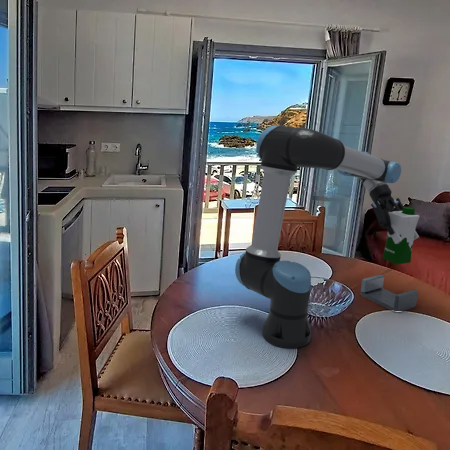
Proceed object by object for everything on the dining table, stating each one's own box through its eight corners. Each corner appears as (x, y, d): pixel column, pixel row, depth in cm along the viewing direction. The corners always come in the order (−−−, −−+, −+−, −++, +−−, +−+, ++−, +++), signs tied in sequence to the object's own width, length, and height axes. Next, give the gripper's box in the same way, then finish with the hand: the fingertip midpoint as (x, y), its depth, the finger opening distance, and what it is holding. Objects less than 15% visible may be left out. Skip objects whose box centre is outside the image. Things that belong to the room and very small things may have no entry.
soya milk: (414, 263, 161) (423, 210, 155) (395, 266, 157) (404, 212, 152) (396, 255, 169) (404, 204, 163) (378, 257, 165) (386, 206, 159)
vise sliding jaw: (383, 287, 176) (385, 276, 174) (364, 292, 170) (366, 281, 169) (379, 286, 177) (381, 274, 176) (360, 291, 172) (362, 279, 170)
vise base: (415, 307, 164) (418, 291, 162) (396, 313, 158) (399, 296, 156) (378, 290, 178) (381, 275, 176) (360, 295, 172) (362, 279, 170)
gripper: (389, 192, 175) (418, 241, 166) (351, 196, 164) (380, 249, 155) (403, 181, 169) (433, 231, 161) (364, 184, 158) (395, 239, 149)
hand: (407, 240), depth 158 cm, fingers closed on soya milk, 9 cm apart
